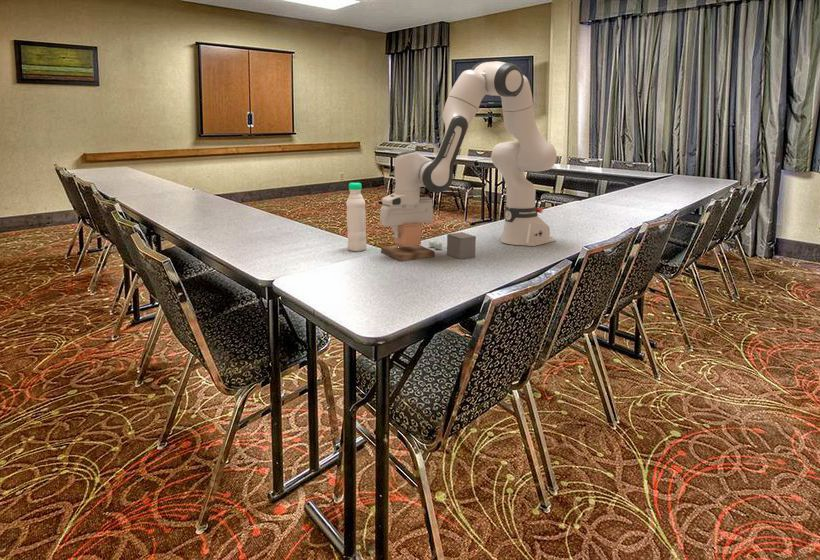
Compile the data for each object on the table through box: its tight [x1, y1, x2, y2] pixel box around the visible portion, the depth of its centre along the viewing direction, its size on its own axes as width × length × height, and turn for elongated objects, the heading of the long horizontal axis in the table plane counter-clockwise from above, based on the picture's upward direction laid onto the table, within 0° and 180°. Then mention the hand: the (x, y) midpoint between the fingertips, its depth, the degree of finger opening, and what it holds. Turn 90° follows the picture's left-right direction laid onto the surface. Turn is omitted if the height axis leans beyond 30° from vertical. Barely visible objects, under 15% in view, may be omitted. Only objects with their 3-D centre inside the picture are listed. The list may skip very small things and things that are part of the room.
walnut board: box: [380, 244, 436, 262], centre depth 188 cm, size 14×15×2 cm
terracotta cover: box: [393, 223, 422, 247], centre depth 186 cm, size 6×9×8 cm
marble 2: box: [434, 240, 443, 250], centre depth 196 cm, size 3×3×3 cm
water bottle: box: [345, 182, 368, 252], centre depth 193 cm, size 7×7×25 cm
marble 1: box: [428, 239, 437, 248], centre depth 199 cm, size 3×3×3 cm
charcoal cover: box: [446, 231, 477, 260], centre depth 186 cm, size 6×9×8 cm
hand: (407, 236), depth 187 cm, fingers closed on terracotta cover, 6 cm apart
